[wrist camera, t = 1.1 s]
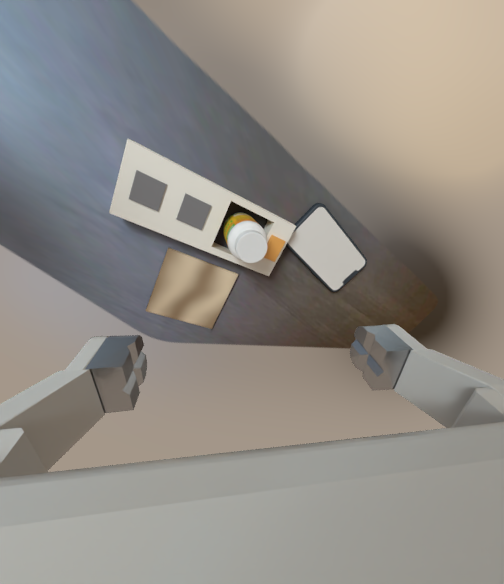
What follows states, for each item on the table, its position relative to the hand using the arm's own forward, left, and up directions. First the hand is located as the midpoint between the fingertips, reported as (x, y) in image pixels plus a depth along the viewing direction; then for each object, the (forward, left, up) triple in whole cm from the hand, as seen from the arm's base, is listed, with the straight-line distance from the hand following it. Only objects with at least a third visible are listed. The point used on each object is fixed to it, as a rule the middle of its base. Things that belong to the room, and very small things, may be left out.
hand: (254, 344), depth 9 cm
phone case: (+21, +2, -31) cm, 38 cm away
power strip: (0, -1, -30) cm, 30 cm away
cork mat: (+2, -14, -30) cm, 34 cm away
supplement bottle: (+5, -1, -31) cm, 31 cm away
